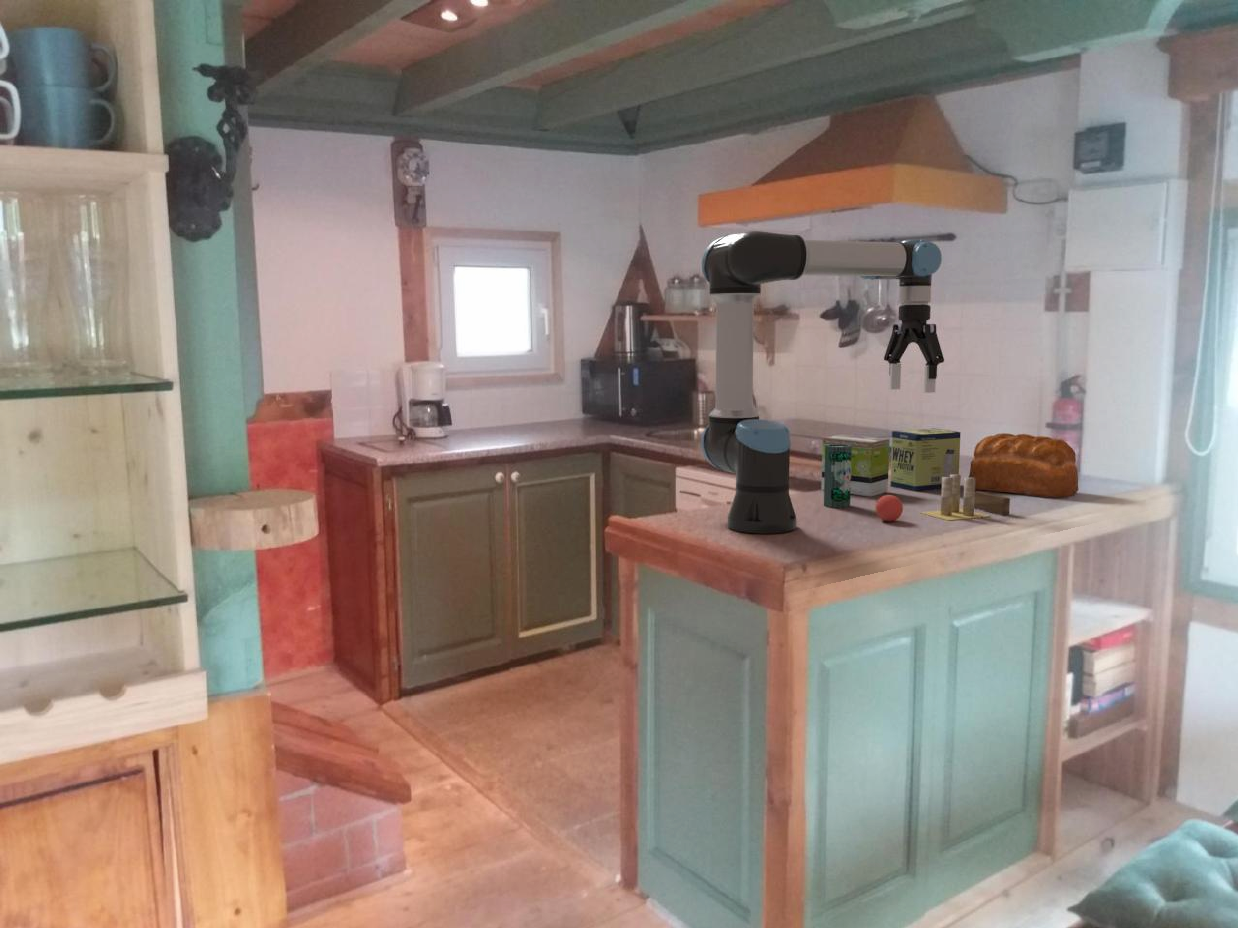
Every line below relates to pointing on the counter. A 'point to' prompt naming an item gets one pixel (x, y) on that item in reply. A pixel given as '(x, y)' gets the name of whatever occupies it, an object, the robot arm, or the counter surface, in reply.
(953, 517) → the plate
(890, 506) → the ball
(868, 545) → the counter surface
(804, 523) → the counter surface
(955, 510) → the pin rear left
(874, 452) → the tea box
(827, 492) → the can
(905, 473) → the protein box
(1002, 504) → the back rail
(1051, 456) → the bread
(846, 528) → the counter surface
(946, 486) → the pin front
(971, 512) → the pin rear right
